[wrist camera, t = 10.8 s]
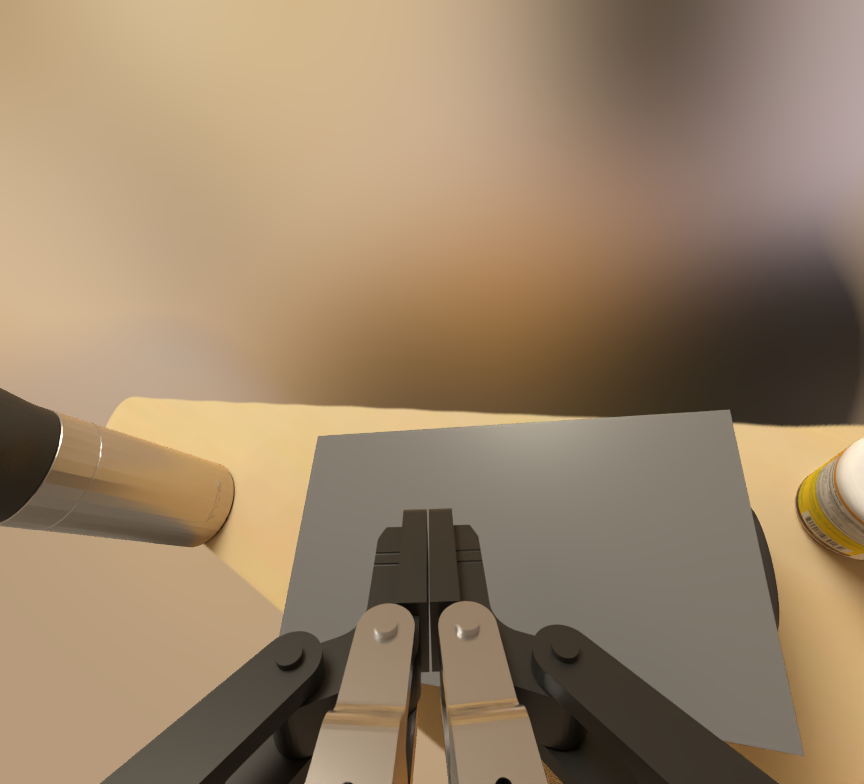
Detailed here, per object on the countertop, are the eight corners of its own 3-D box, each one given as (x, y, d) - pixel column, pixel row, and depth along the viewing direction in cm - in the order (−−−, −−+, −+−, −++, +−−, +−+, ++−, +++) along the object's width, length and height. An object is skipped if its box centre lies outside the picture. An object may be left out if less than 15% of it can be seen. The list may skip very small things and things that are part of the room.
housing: (398, 635, 34) (275, 655, 22) (412, 484, 39) (318, 436, 27) (746, 686, 25) (844, 763, 13) (709, 481, 30) (757, 407, 18)
